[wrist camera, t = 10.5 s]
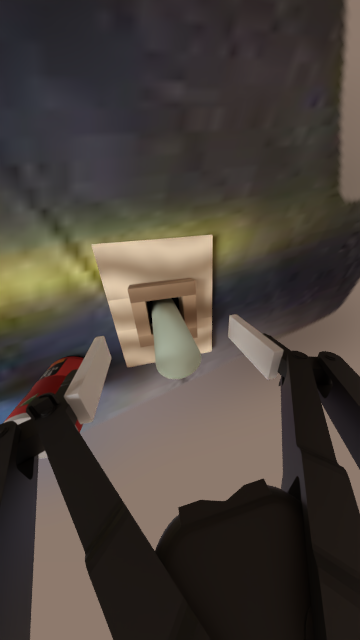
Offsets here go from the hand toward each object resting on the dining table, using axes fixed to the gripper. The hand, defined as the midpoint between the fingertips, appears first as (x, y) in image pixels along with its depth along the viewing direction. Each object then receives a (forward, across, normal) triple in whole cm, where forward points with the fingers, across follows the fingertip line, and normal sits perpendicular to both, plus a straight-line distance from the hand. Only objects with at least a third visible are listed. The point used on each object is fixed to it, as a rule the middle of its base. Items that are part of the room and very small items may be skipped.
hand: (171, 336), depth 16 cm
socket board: (+10, 0, -1) cm, 11 cm away
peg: (+10, 0, -1) cm, 11 cm away
